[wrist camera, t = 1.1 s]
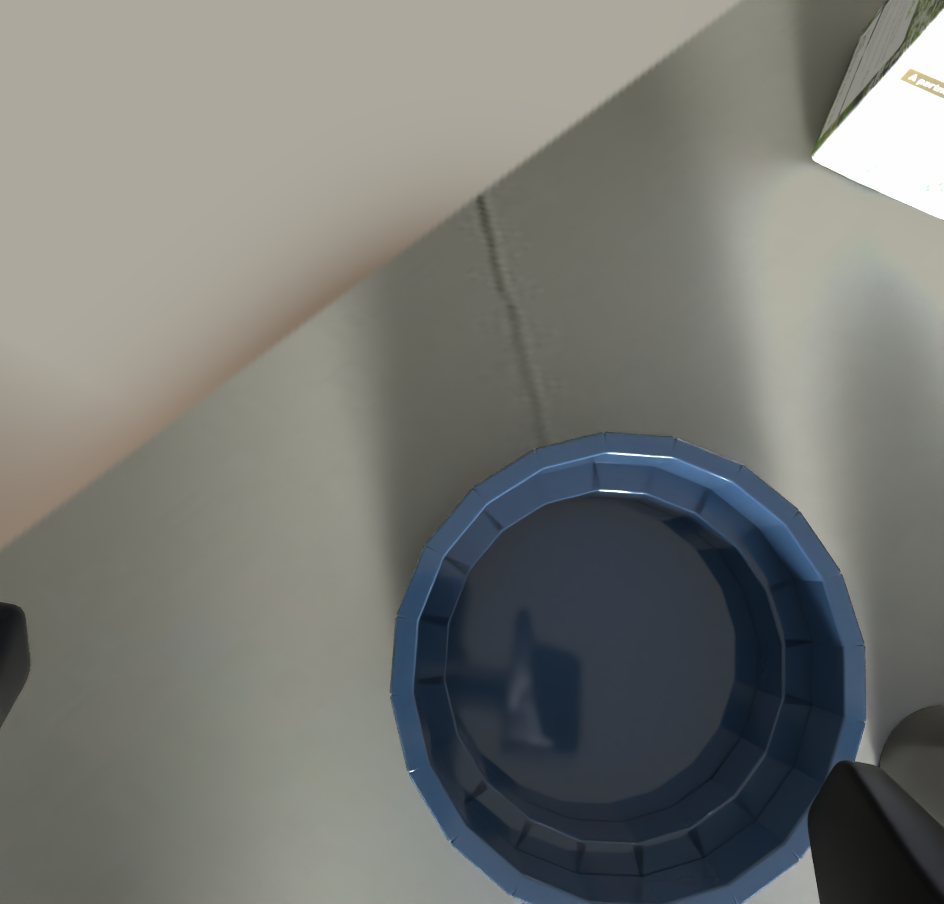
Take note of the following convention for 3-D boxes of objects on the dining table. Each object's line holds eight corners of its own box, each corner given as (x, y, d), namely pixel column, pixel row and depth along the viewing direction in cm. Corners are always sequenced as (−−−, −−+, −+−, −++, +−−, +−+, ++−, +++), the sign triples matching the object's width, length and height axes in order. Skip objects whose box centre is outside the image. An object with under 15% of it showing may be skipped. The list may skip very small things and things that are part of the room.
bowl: (869, 713, 23) (959, 743, 19) (540, 952, 22) (564, 1038, 18) (649, 384, 24) (691, 349, 20) (323, 589, 23) (300, 594, 19)
